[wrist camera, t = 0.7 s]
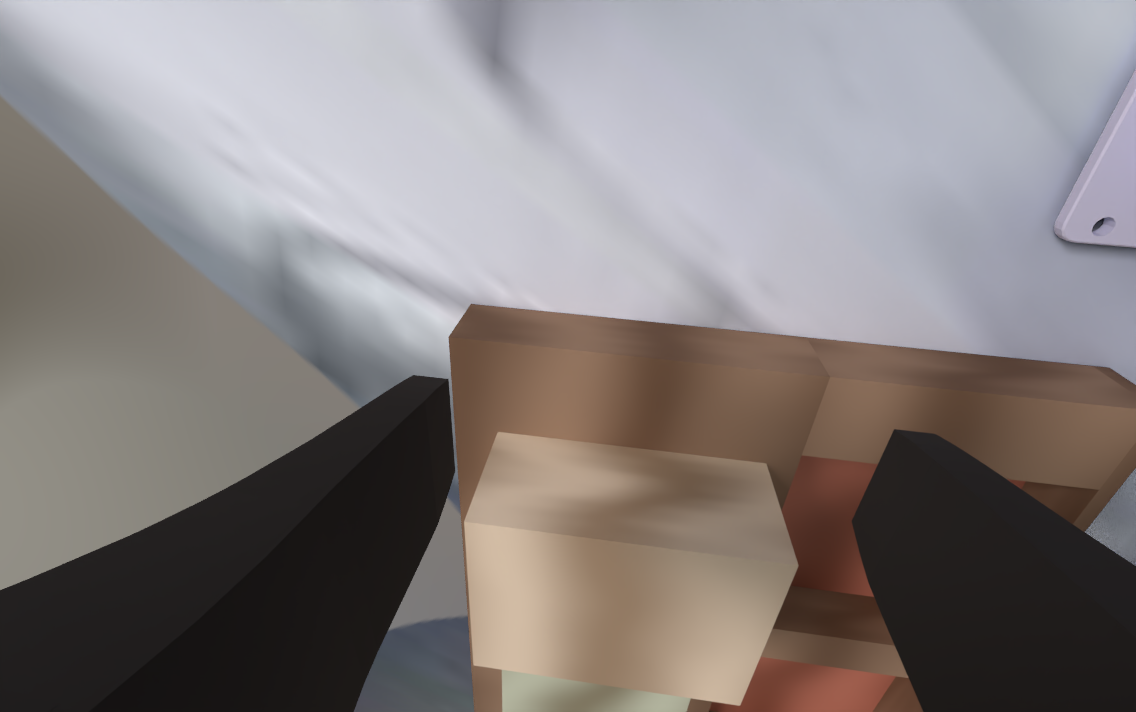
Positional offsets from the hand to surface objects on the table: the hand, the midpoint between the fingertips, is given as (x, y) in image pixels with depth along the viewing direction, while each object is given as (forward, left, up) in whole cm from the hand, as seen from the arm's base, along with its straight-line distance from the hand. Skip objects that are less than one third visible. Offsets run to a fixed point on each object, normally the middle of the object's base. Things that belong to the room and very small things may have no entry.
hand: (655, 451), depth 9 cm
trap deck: (-5, +15, -9) cm, 18 cm away
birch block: (0, +9, -7) cm, 11 cm away
